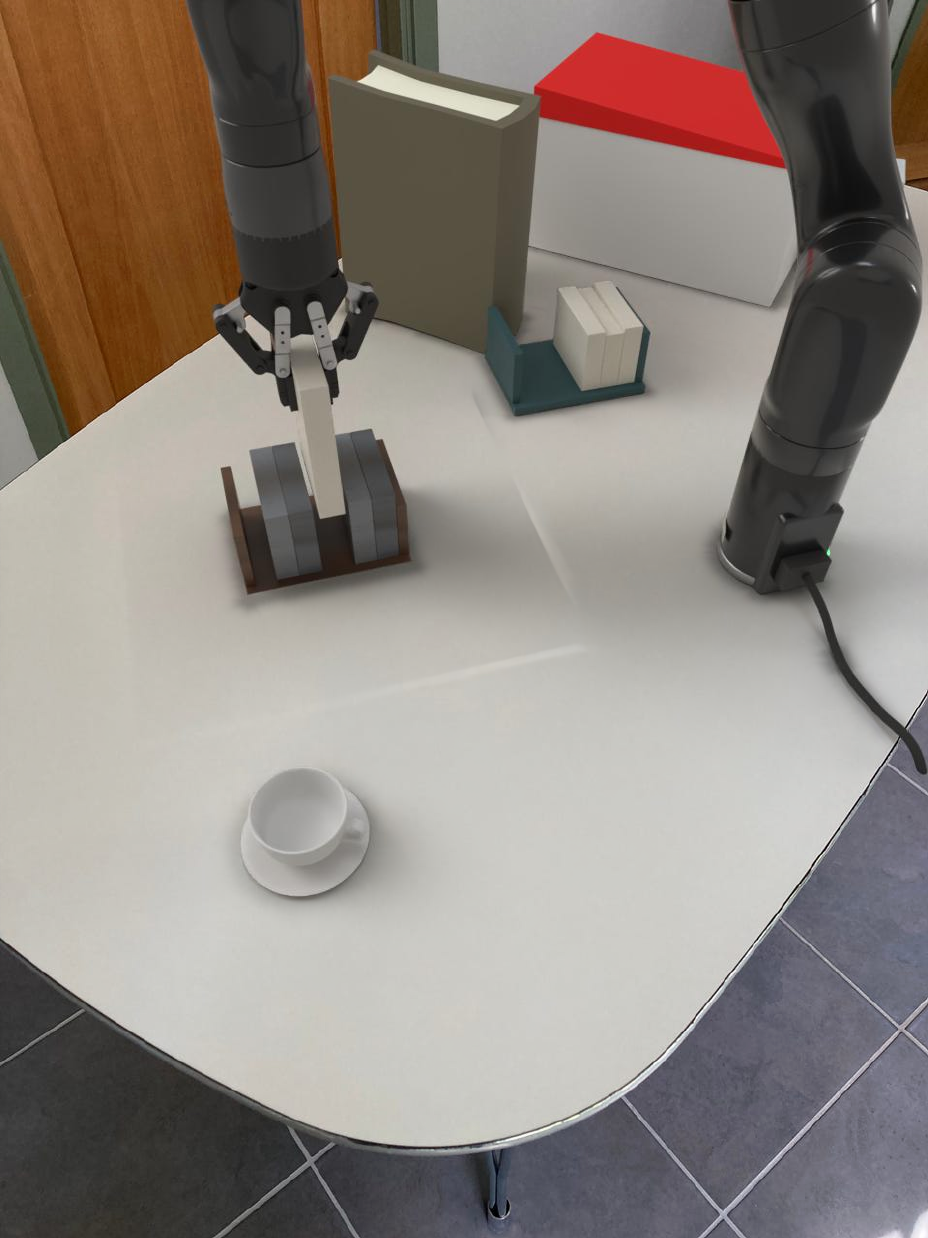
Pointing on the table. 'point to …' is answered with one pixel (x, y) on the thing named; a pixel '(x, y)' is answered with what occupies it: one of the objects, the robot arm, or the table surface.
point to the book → (435, 195)
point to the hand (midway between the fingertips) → (310, 402)
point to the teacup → (303, 832)
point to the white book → (316, 427)
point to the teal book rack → (572, 352)
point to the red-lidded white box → (661, 171)
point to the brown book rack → (290, 525)
